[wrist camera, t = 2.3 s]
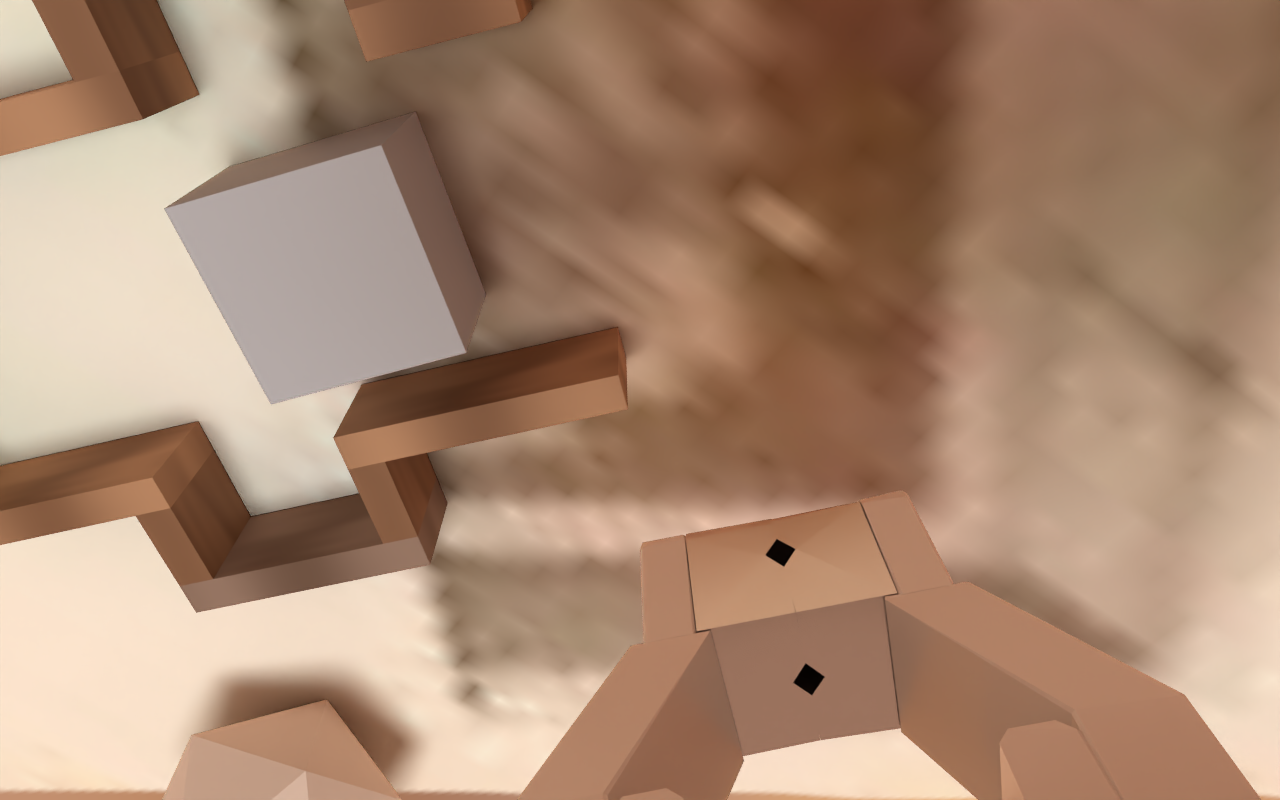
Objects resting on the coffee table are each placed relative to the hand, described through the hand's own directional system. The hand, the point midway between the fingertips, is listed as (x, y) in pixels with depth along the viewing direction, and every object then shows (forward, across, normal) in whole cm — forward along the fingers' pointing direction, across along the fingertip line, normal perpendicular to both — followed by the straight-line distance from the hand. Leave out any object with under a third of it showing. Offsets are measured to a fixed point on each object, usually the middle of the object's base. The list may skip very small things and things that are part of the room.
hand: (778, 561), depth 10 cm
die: (+19, +21, +21) cm, 35 cm away
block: (+19, +10, 0) cm, 22 cm away
